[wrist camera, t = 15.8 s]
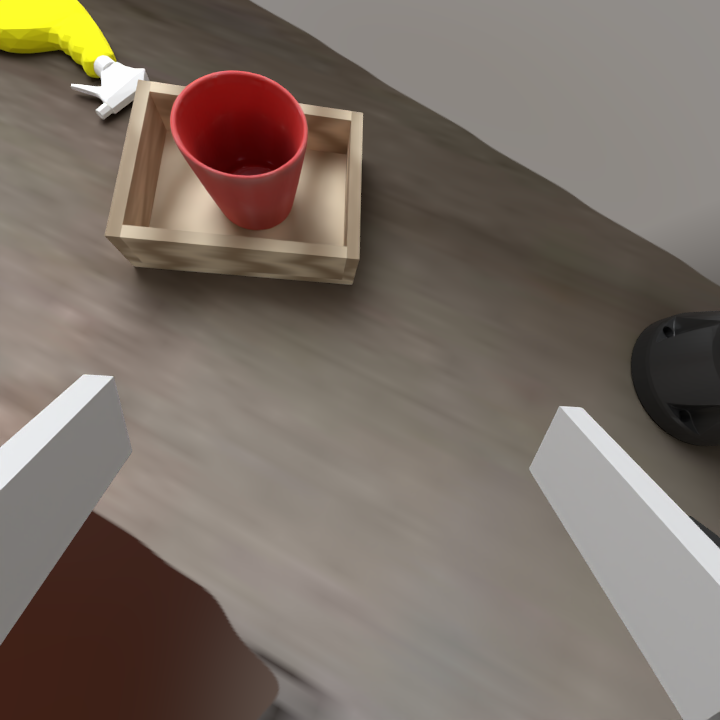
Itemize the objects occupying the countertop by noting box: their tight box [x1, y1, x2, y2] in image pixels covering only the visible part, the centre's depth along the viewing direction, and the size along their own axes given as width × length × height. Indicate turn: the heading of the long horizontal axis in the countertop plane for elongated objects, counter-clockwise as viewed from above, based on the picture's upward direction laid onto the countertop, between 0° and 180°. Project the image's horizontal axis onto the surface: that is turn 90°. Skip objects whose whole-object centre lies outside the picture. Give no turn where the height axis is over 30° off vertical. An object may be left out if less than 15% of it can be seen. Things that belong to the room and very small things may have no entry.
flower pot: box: [170, 71, 308, 230], centre depth 34 cm, size 11×11×10 cm
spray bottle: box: [0, 0, 149, 120], centre depth 40 cm, size 3×11×24 cm
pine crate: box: [105, 80, 363, 285], centre depth 37 cm, size 22×17×6 cm
